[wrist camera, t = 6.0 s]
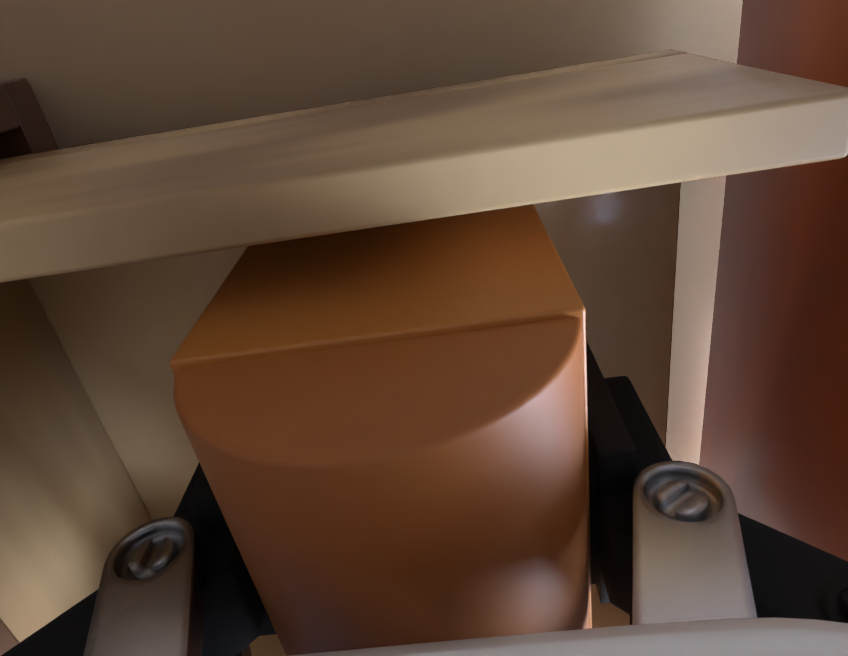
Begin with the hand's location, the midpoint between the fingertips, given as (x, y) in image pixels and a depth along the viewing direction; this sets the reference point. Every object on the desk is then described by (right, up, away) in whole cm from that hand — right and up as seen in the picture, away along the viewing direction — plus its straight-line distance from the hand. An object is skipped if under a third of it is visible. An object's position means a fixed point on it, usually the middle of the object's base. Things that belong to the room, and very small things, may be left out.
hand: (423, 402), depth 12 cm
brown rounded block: (0, +1, +1) cm, 2 cm away
